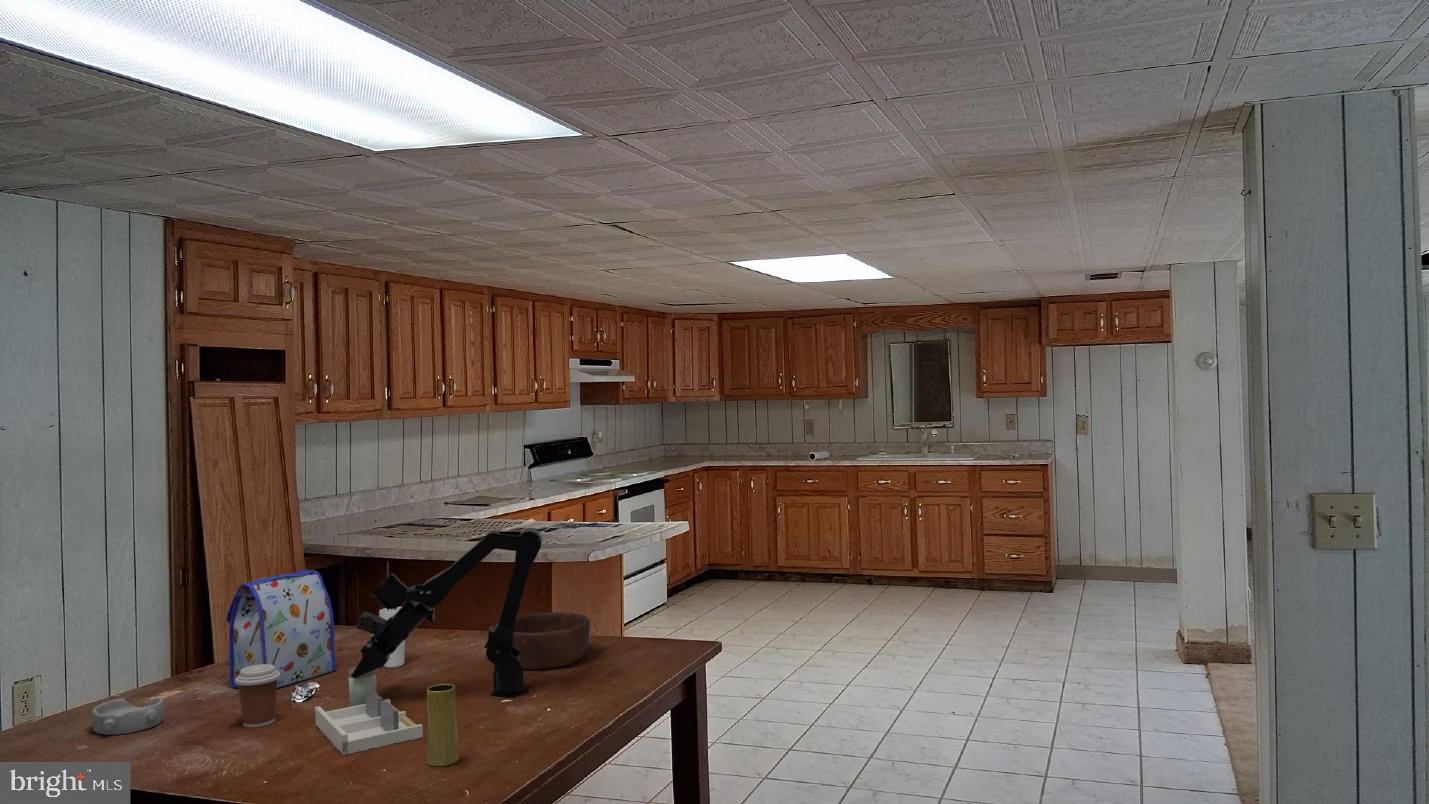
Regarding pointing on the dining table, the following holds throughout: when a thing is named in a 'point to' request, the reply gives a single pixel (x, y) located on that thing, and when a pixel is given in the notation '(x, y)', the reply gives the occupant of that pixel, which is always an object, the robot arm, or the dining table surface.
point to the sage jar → (360, 687)
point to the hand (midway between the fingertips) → (355, 673)
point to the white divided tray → (366, 727)
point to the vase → (442, 725)
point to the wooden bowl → (550, 639)
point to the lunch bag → (282, 627)
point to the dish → (126, 716)
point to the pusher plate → (372, 703)
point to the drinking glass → (398, 654)
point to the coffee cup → (258, 694)
